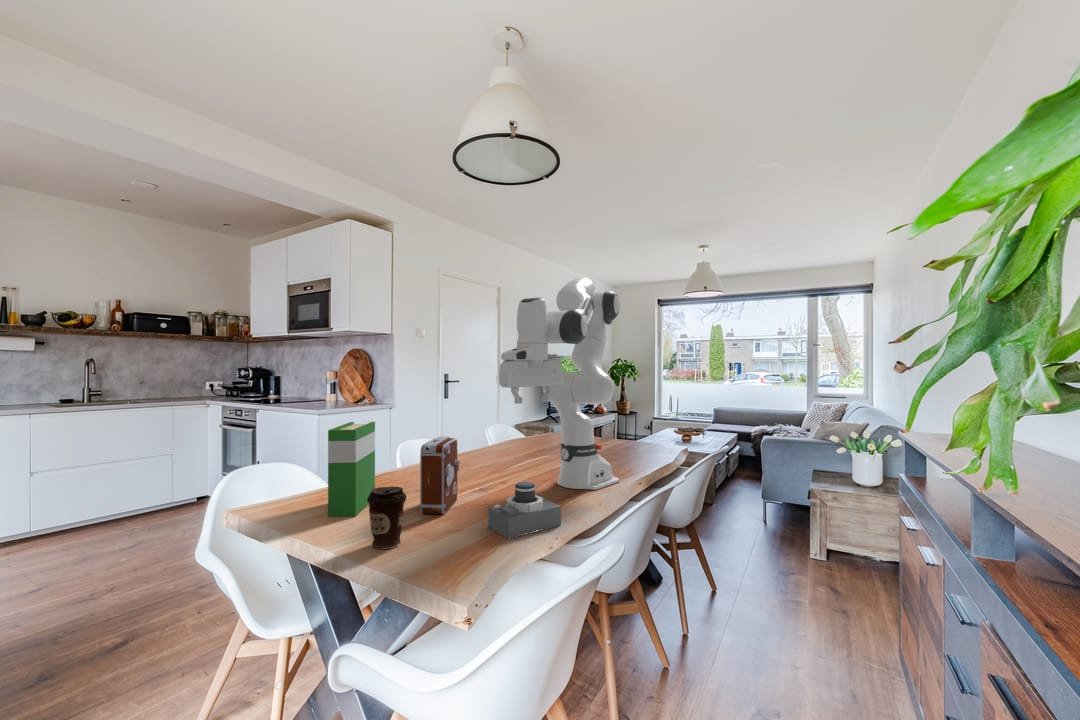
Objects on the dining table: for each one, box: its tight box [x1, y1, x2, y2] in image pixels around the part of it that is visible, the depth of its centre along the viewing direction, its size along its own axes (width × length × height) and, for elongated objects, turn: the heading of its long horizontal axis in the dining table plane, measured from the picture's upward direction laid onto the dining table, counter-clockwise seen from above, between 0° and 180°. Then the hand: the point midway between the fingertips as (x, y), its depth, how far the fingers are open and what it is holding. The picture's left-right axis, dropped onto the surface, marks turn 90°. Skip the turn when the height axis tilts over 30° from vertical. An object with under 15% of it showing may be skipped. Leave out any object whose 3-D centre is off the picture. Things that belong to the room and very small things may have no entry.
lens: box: [514, 481, 536, 503], centre depth 120 cm, size 5×5×6 cm
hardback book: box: [327, 421, 376, 518], centre depth 135 cm, size 18×7×24 cm, turn 3°
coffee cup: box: [367, 486, 407, 550], centre depth 107 cm, size 9×8×13 cm
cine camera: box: [419, 436, 461, 515], centre depth 137 cm, size 9×19×20 cm, turn 174°
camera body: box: [487, 494, 562, 539], centre depth 119 cm, size 16×10×7 cm, turn 126°
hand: (532, 402), depth 131 cm, fingers open, 8 cm apart
